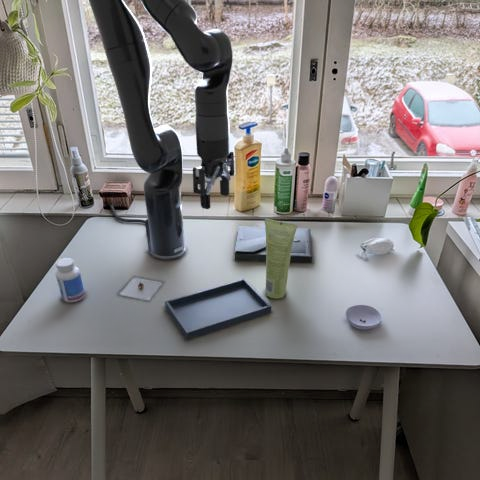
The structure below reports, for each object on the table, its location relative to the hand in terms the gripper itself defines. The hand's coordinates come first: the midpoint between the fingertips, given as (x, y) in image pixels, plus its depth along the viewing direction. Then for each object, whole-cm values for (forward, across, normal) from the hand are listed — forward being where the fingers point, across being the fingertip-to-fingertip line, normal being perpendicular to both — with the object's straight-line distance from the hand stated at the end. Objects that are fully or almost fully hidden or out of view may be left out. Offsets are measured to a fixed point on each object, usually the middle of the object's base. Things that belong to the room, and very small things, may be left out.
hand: (215, 201), depth 122 cm
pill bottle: (+18, +30, -23) cm, 42 cm away
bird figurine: (+19, -28, +34) cm, 48 cm away
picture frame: (+19, -16, +8) cm, 26 cm away
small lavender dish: (+19, +3, +41) cm, 45 cm away
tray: (+18, +16, +10) cm, 27 cm away
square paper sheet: (+18, +19, -11) cm, 28 cm away
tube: (+19, +4, +19) cm, 27 cm away
